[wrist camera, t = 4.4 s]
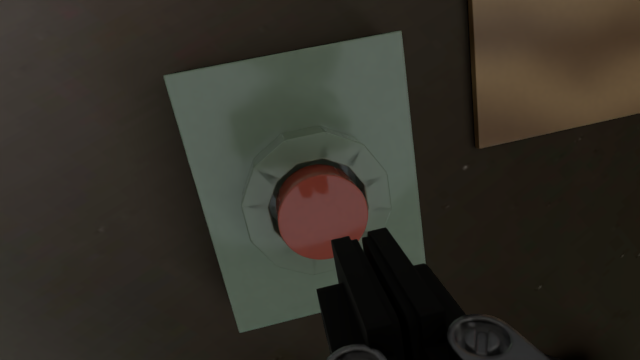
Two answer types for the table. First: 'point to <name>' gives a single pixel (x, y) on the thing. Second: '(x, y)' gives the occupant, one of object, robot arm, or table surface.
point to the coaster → (551, 65)
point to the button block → (296, 159)
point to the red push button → (319, 210)
